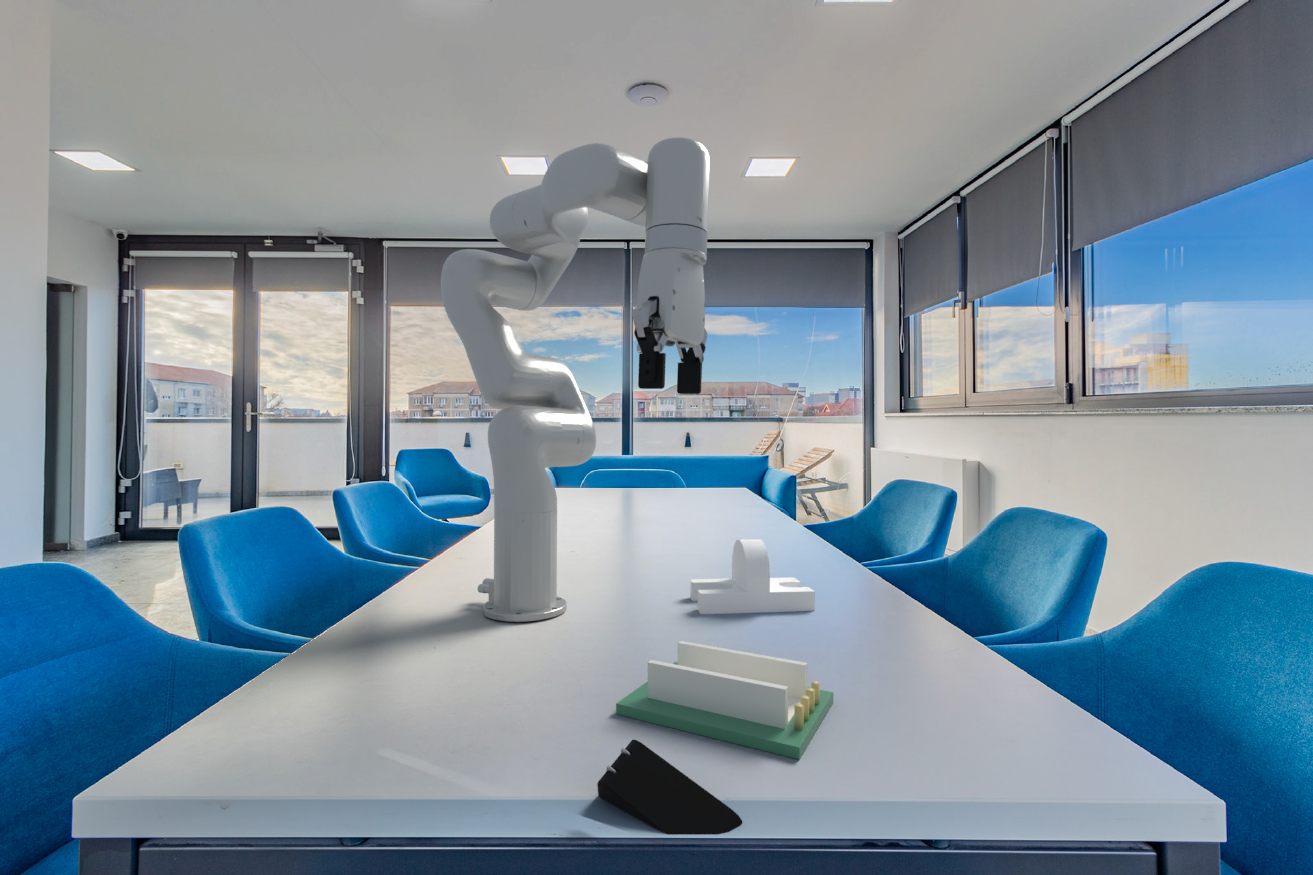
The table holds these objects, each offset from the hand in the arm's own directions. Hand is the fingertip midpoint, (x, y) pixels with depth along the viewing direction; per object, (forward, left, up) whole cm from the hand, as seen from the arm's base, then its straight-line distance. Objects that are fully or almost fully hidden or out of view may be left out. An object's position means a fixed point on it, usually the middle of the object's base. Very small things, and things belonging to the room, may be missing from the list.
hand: (671, 391), depth 75 cm
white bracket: (0, +28, -33) cm, 44 cm away
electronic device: (+11, -23, -40) cm, 47 cm away
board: (+11, -9, -33) cm, 36 cm away
